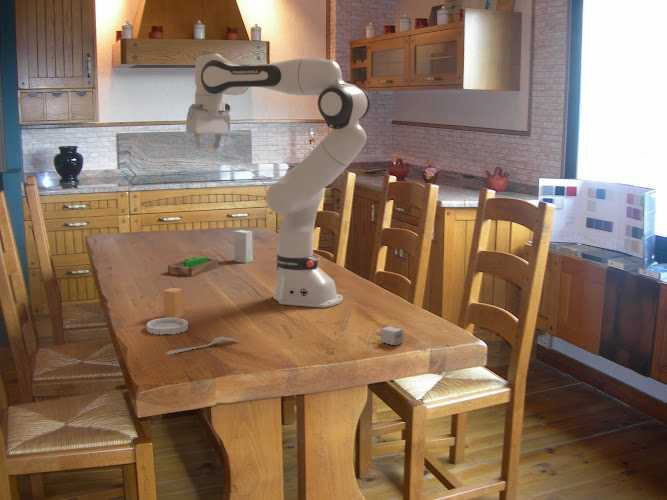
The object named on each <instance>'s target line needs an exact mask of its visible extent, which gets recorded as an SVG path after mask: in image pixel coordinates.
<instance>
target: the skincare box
mask: <svg viewBox="0 0 667 500" xmlns="http://www.w3.org/2000/svg"><path fill="white" fill-rule="evenodd" d="M233 234H234V235H233V237H234V238H233V242H234V243H233V244H234V245H233V246H234V250H233V251H234V253H233V254H234V262H239V263H244V264H248V263H250V262H253V258H254V257H253V230H251V231H250V230H245V229H244V230H243V229H242V230H241V229H240V230H235V231H233Z"/></svg>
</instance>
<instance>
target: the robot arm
mask: <svg viewBox="0 0 667 500" xmlns="http://www.w3.org/2000/svg"><path fill="white" fill-rule="evenodd" d="M342 75H343V73H342V70H341V67H340V65H339V64H338V63H337V62H336V61H334V60H333V59H332V60H331V59H327V58H316V57H315V58H314V57H306V58H305V57H303V58H295V59H294V58H293V59H289V60H282V61H278V62H272V63H267V64H260V65H240V64H237V63H234V62H231V61H230V60H227V59H226V58H224V57H223V56H222V55H221V54H220V53H217V52H211V53H210V52H208V53H203V54H201V55H199V56H198V57H197V59H196V61H195V69H194V83H195V93H194V103H193V104H191V105H190V106H189V107H188V112H187V114H186V120H185V121H186V122H185V131H186V133H187V134H190V135H191V134H192V135H193V138H194V141H195V144H196V145H195V146H196V147H195V148H196V149H199V150H200V149H202V150H203V149H204V148H205V147H204V142H203V141H202V138H203V135H214V137H215V139H214V142H213V144H212V145H213V147H212V148H213V149H220V148H221V142H222V141H223V137H224V136H223V135H230V132H231V127H232V126H231V125H232V124H231V123H232V122H231V121H232V119H231V117H232V116H231V113H230V112H232V105H230V104H229V103H227V102H226V101H225V100H224V99H223V95H228V96H229V95H230V96H239V95H243V94H244V93H246V92H247V91H248V90H249V88H262V89H267V90H272V91H277V92H279V93H283V94H288V95H294V96H318V98H317V107H318V111H319V113H320V114H321V116H322V118H323V119H324V121H325V123H326V125H327V126H328V127H329V128H331V129H330V130H329V132H328V133H327V135H325V136H324V138H323V139H322V140H321V141H320V142H319V143H318V144H317V145H316V147H314V149H312V150H311V152H310V153H309V154H308V155H307V156H306V157H305V158H304V159H302V160H301V161H300V162H299V163H298V164H296V165H295V166H294V167H292V169H290V170H289V171H288V172H286V173H285V174H284V175H283V176H282V177H281V178H280V179H278V180H277V181H276V182H274V183H273V184H272V185H270V187H268V190H267V191H266V196H265V198H266V204H267V205H268V207H269V209H270V210H271V211H272V212H273V213H275V214H278V215H279V214H280V215H284V217H283V220H282V223H281V224H280V226H279V229H278V232H277V233H278V234H277V235H278V236H277V237H278V243H277V244H278V245H277V246H278V249H277V251H278V253H277V254H276V270H277V277H276V278H277V279H276V283H275V290H274V294H273V296H272V297H273V299H274V300H275V301H277V303H278V304H279V305H285V306H286V305H287V306H297V307H299V306H300V307H301V306H302V307H310V308H311V307H312V308H330V307H333V306H337V305H338V304H340V303H341V302H343V300H344V296H343V295H342V294H339V293H337V288H336V287H337V286H336V282H335V280H334V279H332V278H331V277H330V276H329V275H328V274H327V273H326V272H325V271H323V270H322V269H321V268H320V267H319V265H318V264H319V262H320V261H321V260H320V259H321V257H318V258H317V257H316V256H315V254H314V230H315V223H316V219H317V214H318V209H319V206H320V203H321V201H322V200H323V198H324V193H325V191H324V190H325V188H326V187H327V186H329V185H331V184H332V183H333V182H334V181H335V180H336V179H337V178H338V177H339V176H340V175H341V174H342V173H343V172H344V171H345V170H346V169H347V167H349V166H350V164H352V162H353V161H354V160H355V158H357V157H358V155H359V154H360V153H361V150H362V149H363V148H364V146H365V144H366V142H367V133H366V131H365V130H364V128H363V127H362V125H360V121H359V120H362V119H363V118H364V117H365V116H366V115H367V114H368V113H369V111H370V108H371V98H370V96H369V94H368V93H367V91H365V89H363V88H362V87H360V86H358V85H356V84H355V83H354V82H351V80H343V76H342Z"/></svg>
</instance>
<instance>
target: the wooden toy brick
mask: <svg viewBox="0 0 667 500" xmlns="http://www.w3.org/2000/svg"><path fill="white" fill-rule="evenodd" d="M162 292H163V300H162V301H163V318H182V317H183V316H184V290H183V288H178V287H177V288H176V287H170V288H167V289H165V290H164V289H163V291H162Z"/></svg>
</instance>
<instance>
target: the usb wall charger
mask: <svg viewBox="0 0 667 500" xmlns="http://www.w3.org/2000/svg"><path fill="white" fill-rule="evenodd" d="M375 335H376V336H378V337H380V343H381V342H382V343H381V344H384V343H386V344H385V345H388V344H390V345H389V346H391V345H397V344H400V343H402V344H403V343H404V330H403V329H401V328H397V327H393V326H385V327H383V328H381V330H380V331H379V332H375ZM400 345H401V344H400ZM397 346H398V345H397Z"/></svg>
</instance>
